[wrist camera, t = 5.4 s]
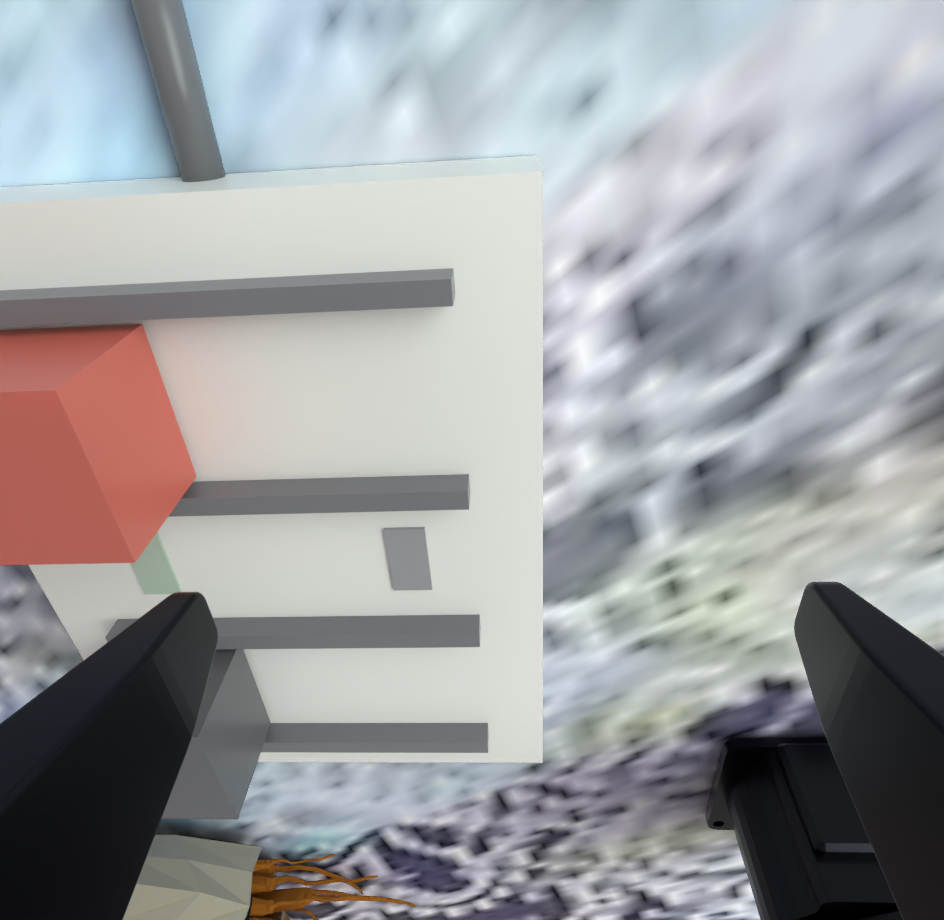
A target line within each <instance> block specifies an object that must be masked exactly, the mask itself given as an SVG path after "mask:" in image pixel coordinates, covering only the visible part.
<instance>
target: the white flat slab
mask: <svg viewBox="0 0 944 920" xmlns="http://www.w3.org/2000/svg"><path fill="white" fill-rule="evenodd" d="M131 3H132V7H133V10H134V14H135V18H136V21H137V25H138V28H139V32H140V35H141V39H142V42H143V46H144V49H145V53H146V56H147V60H148V63H149V67H150V70H151V74H152V77H153V81H154V84H155V88H156V91H157V95H158V98H159V102H160V105H161V109H162V112H163V116H164V119H165V123H166V126H167V130H168V133H169V137H170V140H171V144H172V147H173V151H174V155H175V158H176V162H177V165H178V169H179V172H180V176H181V177H166V178H149V179H133V180H116V181H100V182H83V183H66V184H50V185H33V186H17V187H0V330H17V329H39V328H62V327H84V326H107V325H129V324H143V327H144V330H145V333H146V335H147V338H148V341H149V344H150V347H151V349H152V352H153V355H154V358H155V361H156V363H157V366H158V369H159V372H160V375H161V377H162V380H163V383H164V386H165V389H166V392H167V394H168V397H169V400H170V403H171V406H172V408H173V411H174V414H175V417H176V420H177V422H178V425H179V428H180V431H181V434H182V436H183V439H184V442H185V445H186V448H187V451H188V453H189V456H190V459H191V462H192V465H193V467H194V470H195V473H196V476H197V477H196V478H195V480H194V481H193V483H192V484H191V485H190V487H189V488H188V490H187V491H186V492H185V494H184V495H183V497H182V498H181V499H180V501H179V502H178V504H177V505H176V506H175V508H174V509H173V511H172V512H171V513H170V515H169V516H168V518H167V519H166V520H165V522H164V523H163V525H162V526H161V527H160V529H159V530H158V532H157V533H156V534H155V536H154V537H153V539H152V540H151V541H150V543H149V544H148V546H147V547H146V548H145V550H144V551H143V553H142V554H141V555H140V557H139V558H138V560H137V561H136V562H135V563H99V564H45V565H29V567H30V569H31V571H32V572H33V574H34V576H35V577H36V579H37V581H38V583H39V584H40V586H41V588H42V589H43V591H44V593H45V595H46V596H47V598H48V600H49V601H50V603H51V605H52V607H53V608H54V610H55V612H56V613H57V615H58V617H59V619H60V620H61V622H62V624H63V626H64V627H65V629H66V631H67V632H68V634H69V636H70V638H71V639H72V641H73V643H74V644H75V646H76V648H77V650H78V651H79V653H80V655H81V656H82V658H83V660H85V659H86V658H88V657H89V656H90V655H92V654H93V653H94V652H95V651H97V650H98V649H99V648H101V647H102V646H103V645H105V644H106V643H107V642H109V641H110V640H111V639H113V638H114V637H115V636H117V635H118V634H119V633H121V632H122V631H123V630H124V629H126V628H127V627H128V626H130V625H131V624H132V623H134V622H135V621H136V620H138V619H139V618H140V617H142V616H143V615H144V614H146V613H147V612H148V611H149V610H151V609H152V608H153V607H155V606H156V605H157V604H159V603H160V602H161V601H163V600H164V599H165V598H167V597H168V596H169V595H171V594H173V593H176V592H199V593H201V594H202V595H203V596H204V597H205V599H206V601H207V604H208V606H209V609H210V611H211V614H212V616H213V619H214V621H215V624H216V626H217V631H218V642H217V647H216V649H243V650H244V653H245V655H246V658H247V661H248V663H249V666H250V669H251V671H252V674H253V677H254V679H255V682H256V685H257V687H258V690H259V693H260V695H261V698H262V701H263V703H264V706H265V709H266V711H267V714H268V717H269V719H270V722H271V724H270V727H269V730H268V733H267V736H266V738H265V741H264V744H263V747H262V750H261V753H260V756H259V759H258V762H441V763H543V171H542V168H541V165H540V162H539V159H538V155H531V156H514V157H497V158H481V159H464V160H448V161H431V162H415V163H398V164H381V165H365V166H348V167H332V168H315V169H299V170H282V171H265V172H249V173H232V174H225V172H224V168H223V164H222V160H221V156H220V152H219V148H218V144H217V140H216V136H215V132H214V128H213V124H212V120H211V116H210V112H209V108H208V104H207V100H206V95H205V91H204V87H203V83H202V79H201V75H200V71H199V67H198V63H197V59H196V55H195V51H194V47H193V43H192V39H191V35H190V31H189V27H188V23H187V19H186V15H185V11H184V7H183V3H182V0H131Z"/></svg>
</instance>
